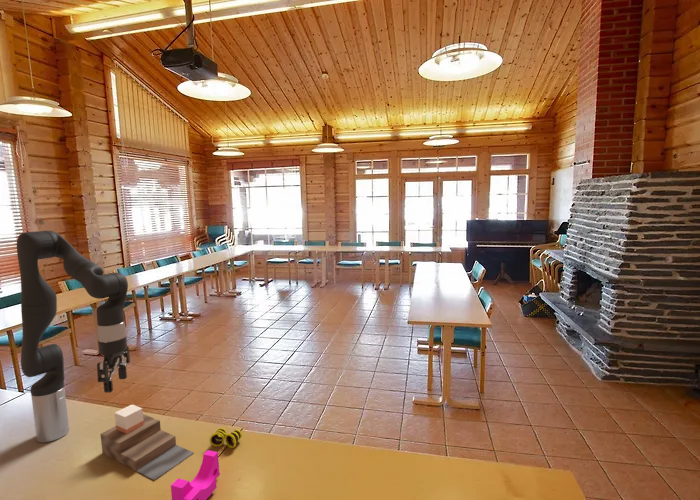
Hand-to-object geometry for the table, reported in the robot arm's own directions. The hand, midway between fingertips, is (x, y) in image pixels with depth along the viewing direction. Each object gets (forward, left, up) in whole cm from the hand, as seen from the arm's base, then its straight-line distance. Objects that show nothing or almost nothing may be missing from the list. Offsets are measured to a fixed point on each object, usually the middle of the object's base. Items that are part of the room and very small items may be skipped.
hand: (116, 385), depth 116 cm
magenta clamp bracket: (+34, +2, -26) cm, 43 cm away
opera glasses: (+24, +22, -26) cm, 42 cm away
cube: (-5, +6, -19) cm, 20 cm away
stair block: (+4, +6, -26) cm, 27 cm away
